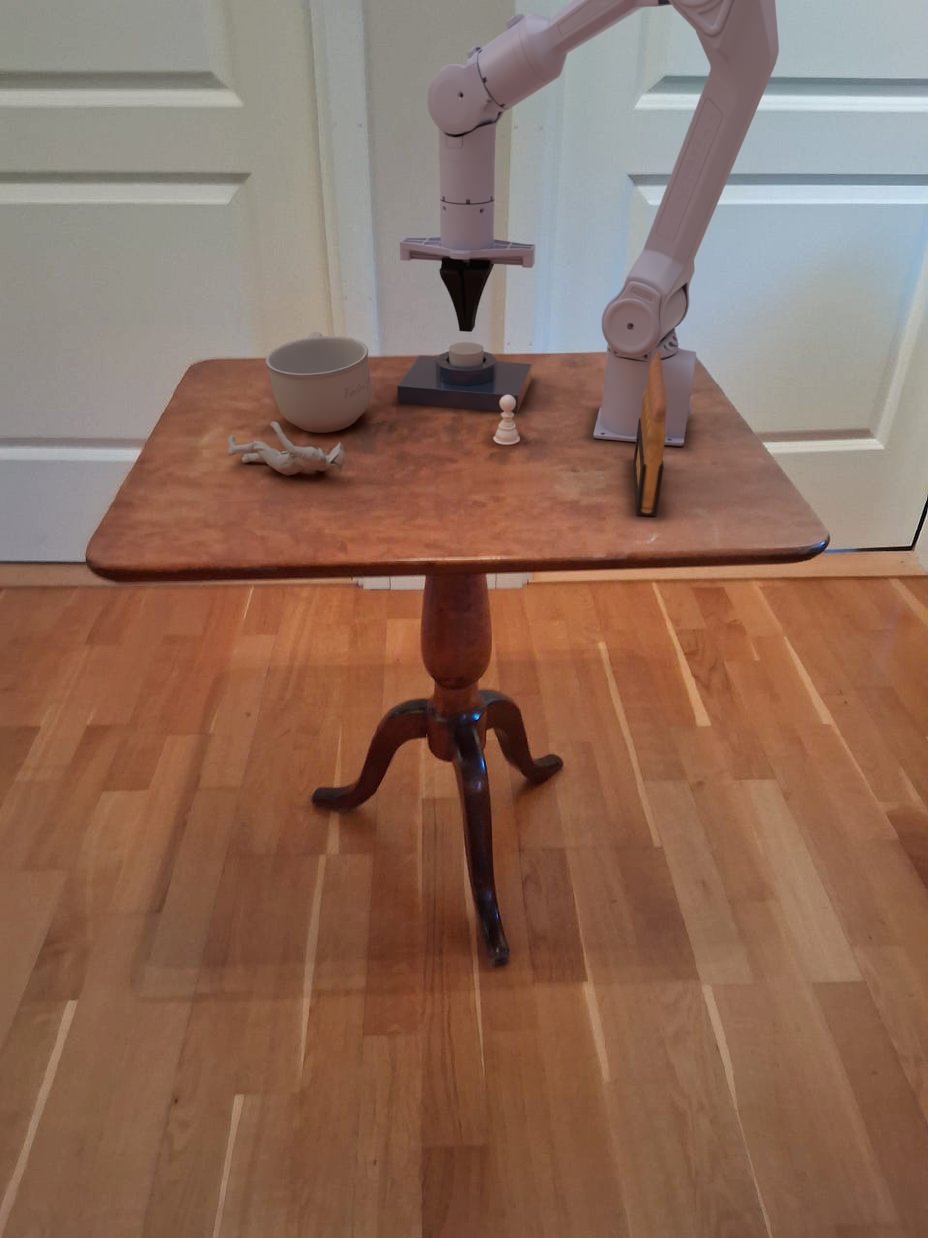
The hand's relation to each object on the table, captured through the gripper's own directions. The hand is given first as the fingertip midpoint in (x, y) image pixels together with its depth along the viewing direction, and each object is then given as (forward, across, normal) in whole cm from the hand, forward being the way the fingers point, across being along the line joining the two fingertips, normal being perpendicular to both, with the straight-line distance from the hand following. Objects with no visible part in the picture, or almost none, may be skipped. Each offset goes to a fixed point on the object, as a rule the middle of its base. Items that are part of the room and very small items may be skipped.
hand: (467, 328), depth 101 cm
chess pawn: (+8, +7, -12) cm, 16 cm away
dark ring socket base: (+8, 0, 0) cm, 8 cm away
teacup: (+8, -14, -10) cm, 19 cm away
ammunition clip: (+8, +22, -20) cm, 30 cm away
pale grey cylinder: (+4, 0, 0) cm, 4 cm away
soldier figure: (+8, -13, -24) cm, 28 cm away
